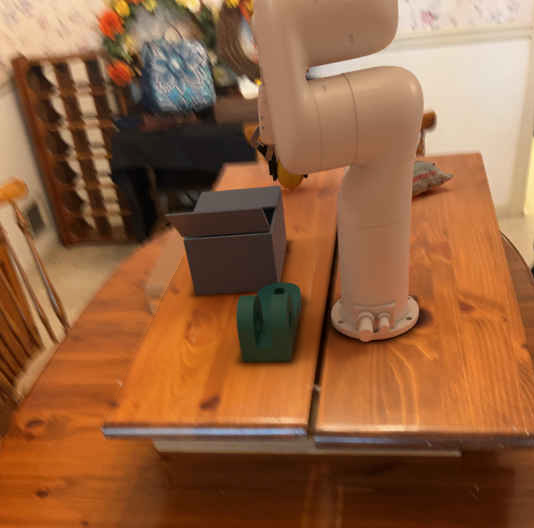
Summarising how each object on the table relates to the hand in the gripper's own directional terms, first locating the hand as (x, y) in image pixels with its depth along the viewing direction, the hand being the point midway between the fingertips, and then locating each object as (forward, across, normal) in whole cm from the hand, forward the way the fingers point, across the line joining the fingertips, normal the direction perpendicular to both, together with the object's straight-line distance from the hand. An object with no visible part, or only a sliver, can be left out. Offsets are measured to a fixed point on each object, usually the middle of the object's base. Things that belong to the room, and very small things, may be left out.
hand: (290, 176), depth 129 cm
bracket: (+3, -1, +51) cm, 51 cm away
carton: (+3, +6, +32) cm, 33 cm away
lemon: (+3, 0, 0) cm, 3 cm away
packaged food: (+3, -24, +6) cm, 25 cm away
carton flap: (-10, +6, +43) cm, 45 cm away
